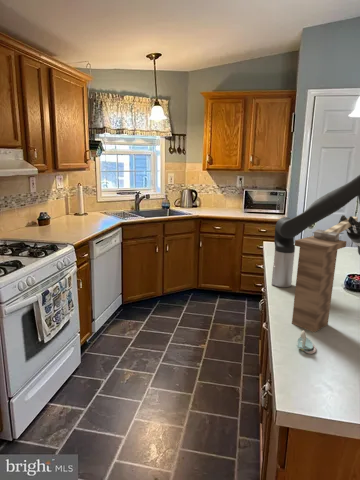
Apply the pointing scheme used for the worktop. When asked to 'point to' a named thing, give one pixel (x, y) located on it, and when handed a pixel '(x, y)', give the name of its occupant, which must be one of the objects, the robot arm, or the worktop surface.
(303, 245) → the stand
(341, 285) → the worktop surface
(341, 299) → the worktop surface
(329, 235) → the beige block
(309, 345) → the pacifier
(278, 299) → the worktop surface
